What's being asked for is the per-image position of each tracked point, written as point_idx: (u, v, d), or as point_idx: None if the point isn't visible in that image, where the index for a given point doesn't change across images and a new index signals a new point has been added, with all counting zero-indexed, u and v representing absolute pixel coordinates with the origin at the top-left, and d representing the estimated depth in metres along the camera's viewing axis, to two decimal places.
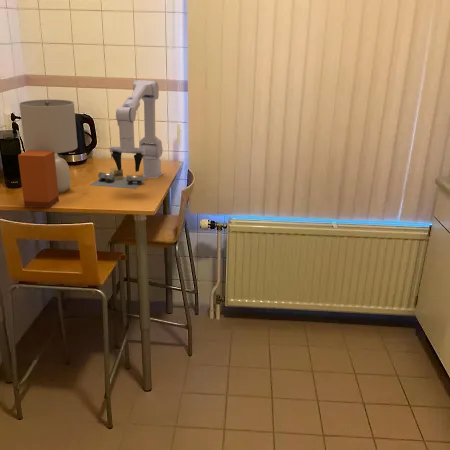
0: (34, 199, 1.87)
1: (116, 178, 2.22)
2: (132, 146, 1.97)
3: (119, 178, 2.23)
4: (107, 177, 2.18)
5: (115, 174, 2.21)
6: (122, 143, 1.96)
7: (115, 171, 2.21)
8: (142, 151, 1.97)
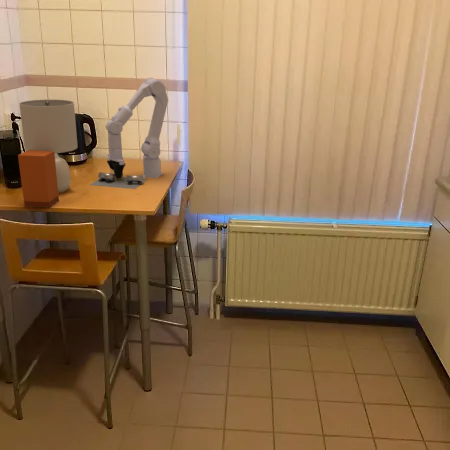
0: (34, 199, 1.87)
1: (116, 178, 2.22)
2: (115, 156, 2.18)
3: (119, 178, 2.23)
4: (107, 177, 2.18)
5: (115, 174, 2.21)
6: None
7: None
8: (119, 162, 2.16)
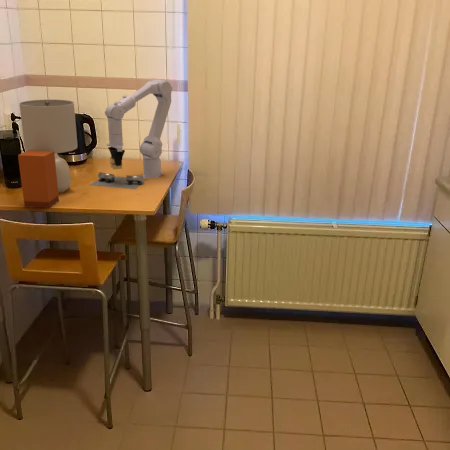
0: (34, 199, 1.87)
1: (115, 167, 2.16)
2: (114, 142, 2.11)
3: (118, 167, 2.16)
4: (107, 177, 2.18)
5: (113, 163, 2.15)
6: (109, 138, 2.13)
7: (113, 160, 2.14)
8: (117, 148, 2.08)
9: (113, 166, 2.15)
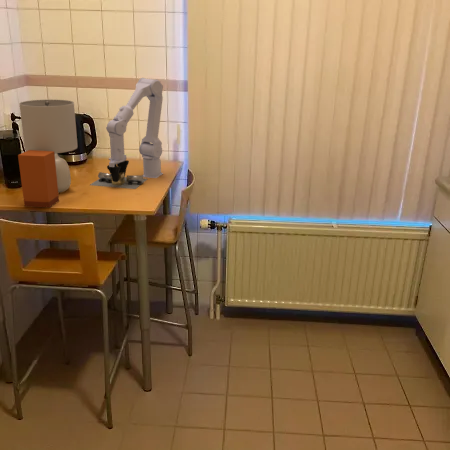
0: (34, 199, 1.87)
1: (114, 183, 2.16)
2: (113, 157, 2.11)
3: (117, 183, 2.15)
4: (107, 177, 2.18)
5: None
6: None
7: None
8: None
9: (112, 181, 2.16)
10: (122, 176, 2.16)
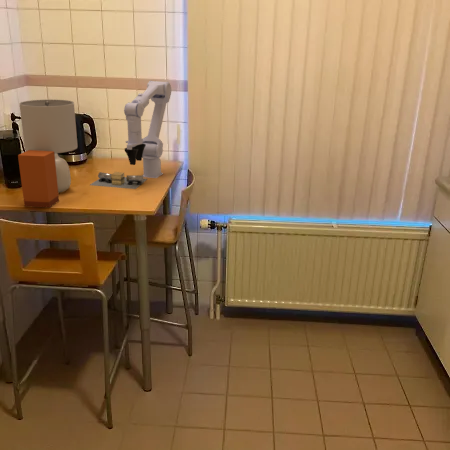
0: (34, 199, 1.87)
1: (114, 183, 2.16)
2: (130, 140, 2.10)
3: (117, 183, 2.15)
4: (107, 177, 2.18)
5: (113, 178, 2.15)
6: None
7: (113, 175, 2.14)
8: None
9: (112, 181, 2.16)
10: (122, 176, 2.16)
